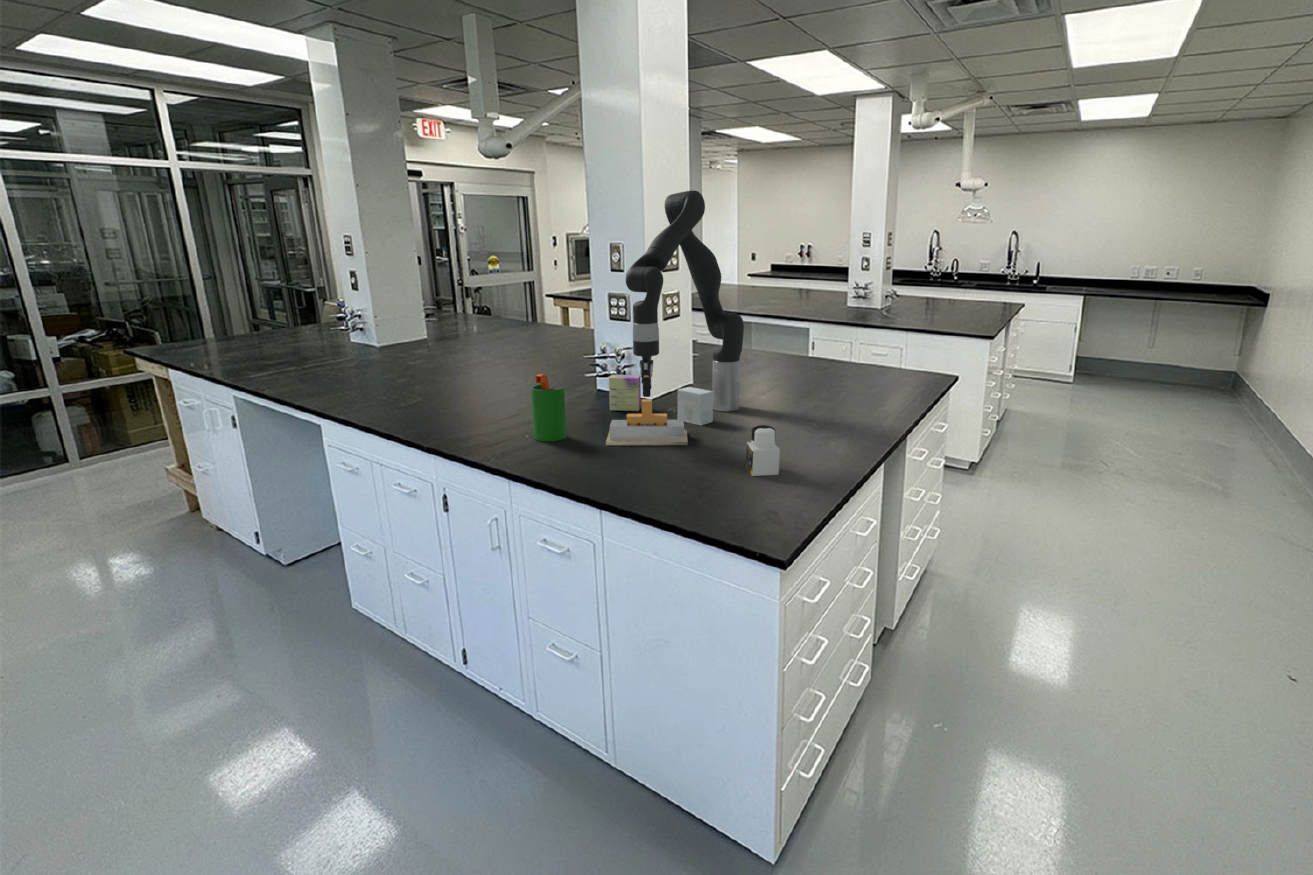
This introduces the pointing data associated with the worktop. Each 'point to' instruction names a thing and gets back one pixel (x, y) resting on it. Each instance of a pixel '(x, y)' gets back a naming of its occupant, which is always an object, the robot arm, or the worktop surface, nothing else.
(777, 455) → the medicine bottle
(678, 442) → the slotted grey base block
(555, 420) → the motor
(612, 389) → the box
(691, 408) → the skincare box
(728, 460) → the worktop surface
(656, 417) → the clip
